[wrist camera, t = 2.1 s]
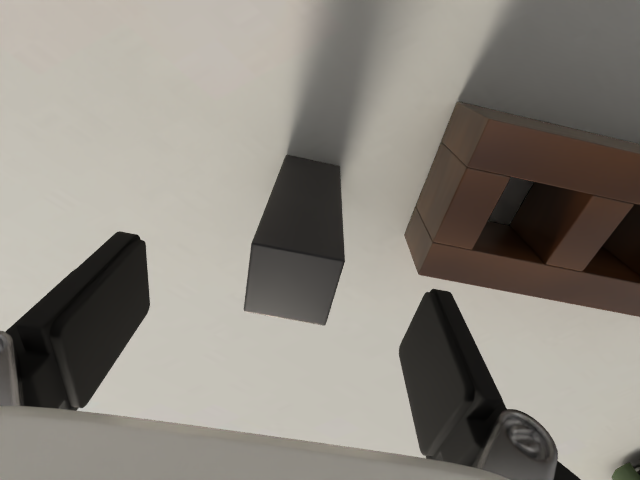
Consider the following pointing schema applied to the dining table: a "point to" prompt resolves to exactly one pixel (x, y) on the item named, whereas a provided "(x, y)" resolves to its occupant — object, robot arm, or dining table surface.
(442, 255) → the holder
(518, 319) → the dining table surface
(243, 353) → the dining table surface
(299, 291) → the peg
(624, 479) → the character mug
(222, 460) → the robot arm
